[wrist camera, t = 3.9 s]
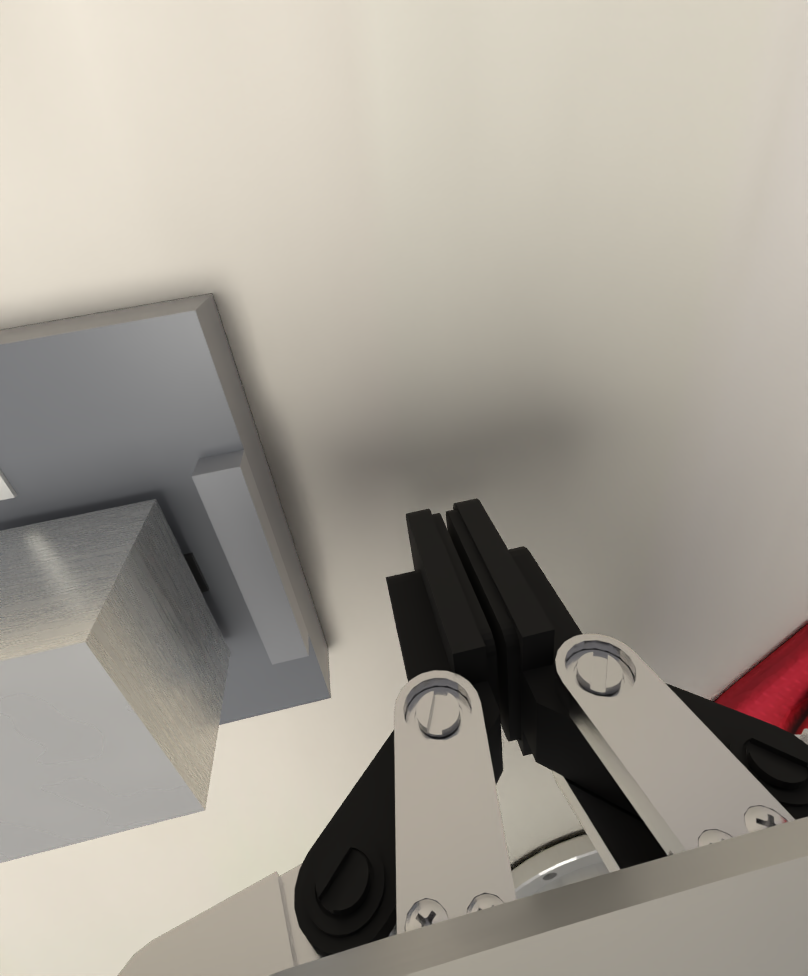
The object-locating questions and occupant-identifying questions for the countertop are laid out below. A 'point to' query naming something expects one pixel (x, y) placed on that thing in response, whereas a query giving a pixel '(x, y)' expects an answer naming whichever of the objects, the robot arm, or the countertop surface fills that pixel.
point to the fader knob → (102, 679)
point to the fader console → (165, 474)
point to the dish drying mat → (776, 687)
